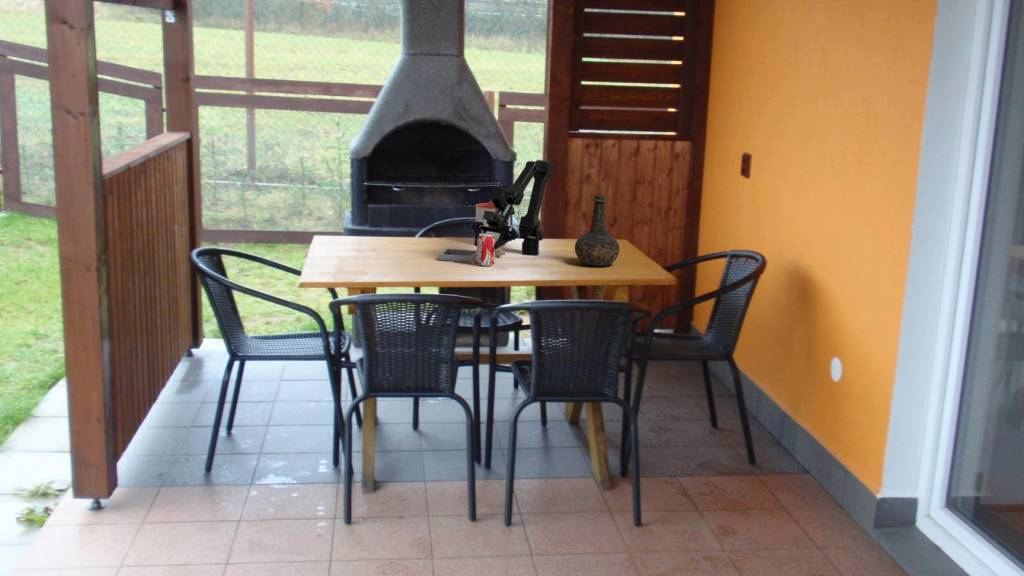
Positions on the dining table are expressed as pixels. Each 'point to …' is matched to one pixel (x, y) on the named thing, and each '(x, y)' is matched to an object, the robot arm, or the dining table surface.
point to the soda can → (485, 249)
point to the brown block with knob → (499, 252)
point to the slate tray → (458, 255)
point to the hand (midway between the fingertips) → (484, 247)
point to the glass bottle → (597, 239)
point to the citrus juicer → (479, 217)
